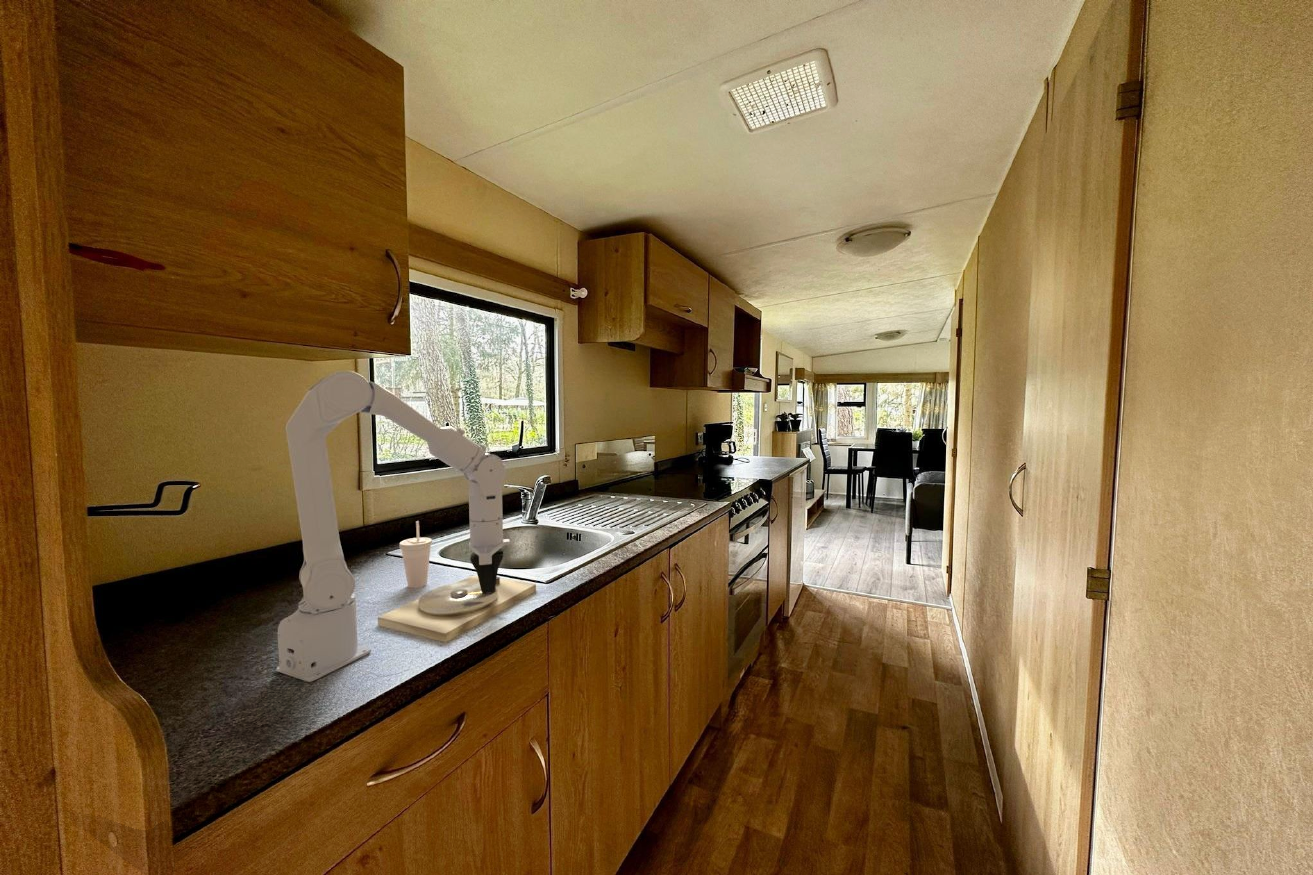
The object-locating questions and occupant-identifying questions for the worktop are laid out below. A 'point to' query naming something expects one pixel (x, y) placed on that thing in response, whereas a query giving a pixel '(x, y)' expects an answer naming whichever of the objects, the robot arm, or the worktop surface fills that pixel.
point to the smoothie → (416, 559)
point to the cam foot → (456, 599)
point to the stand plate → (452, 626)
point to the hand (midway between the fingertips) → (488, 591)
